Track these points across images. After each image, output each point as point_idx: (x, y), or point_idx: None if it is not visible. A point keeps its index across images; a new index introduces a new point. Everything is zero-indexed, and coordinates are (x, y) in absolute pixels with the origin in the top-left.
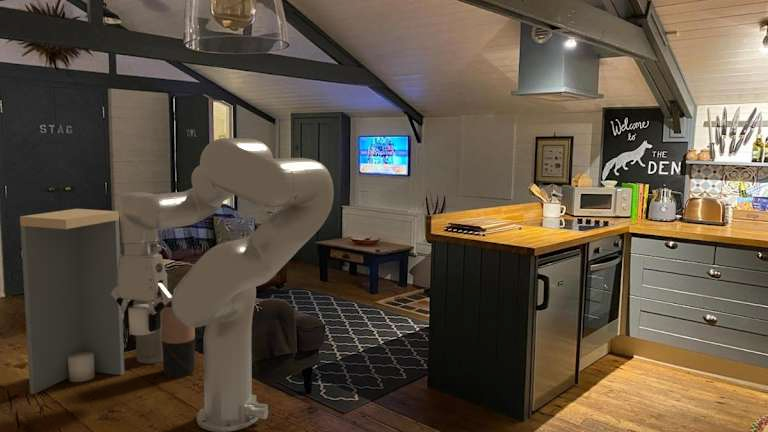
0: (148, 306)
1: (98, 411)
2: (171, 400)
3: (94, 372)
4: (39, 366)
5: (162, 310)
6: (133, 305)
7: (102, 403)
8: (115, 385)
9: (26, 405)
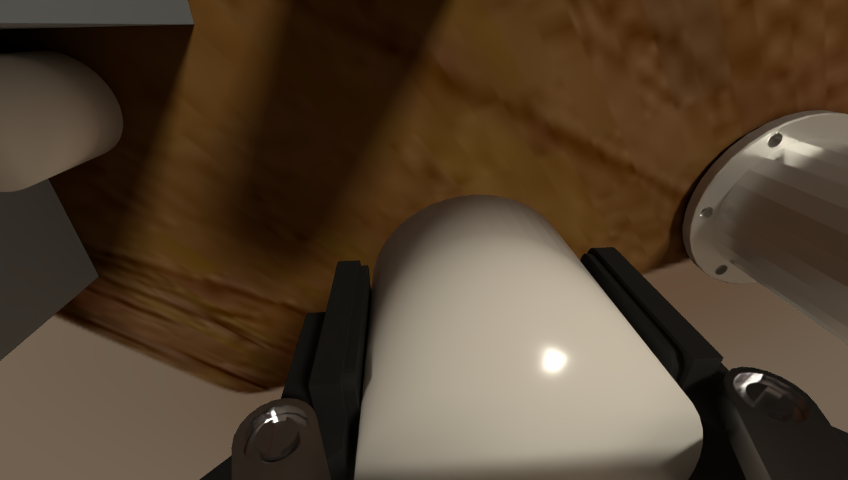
0: (592, 438)
1: None
2: (550, 160)
3: (87, 78)
4: (12, 309)
5: (779, 377)
6: (322, 442)
7: (354, 251)
8: (271, 126)
9: (169, 328)
